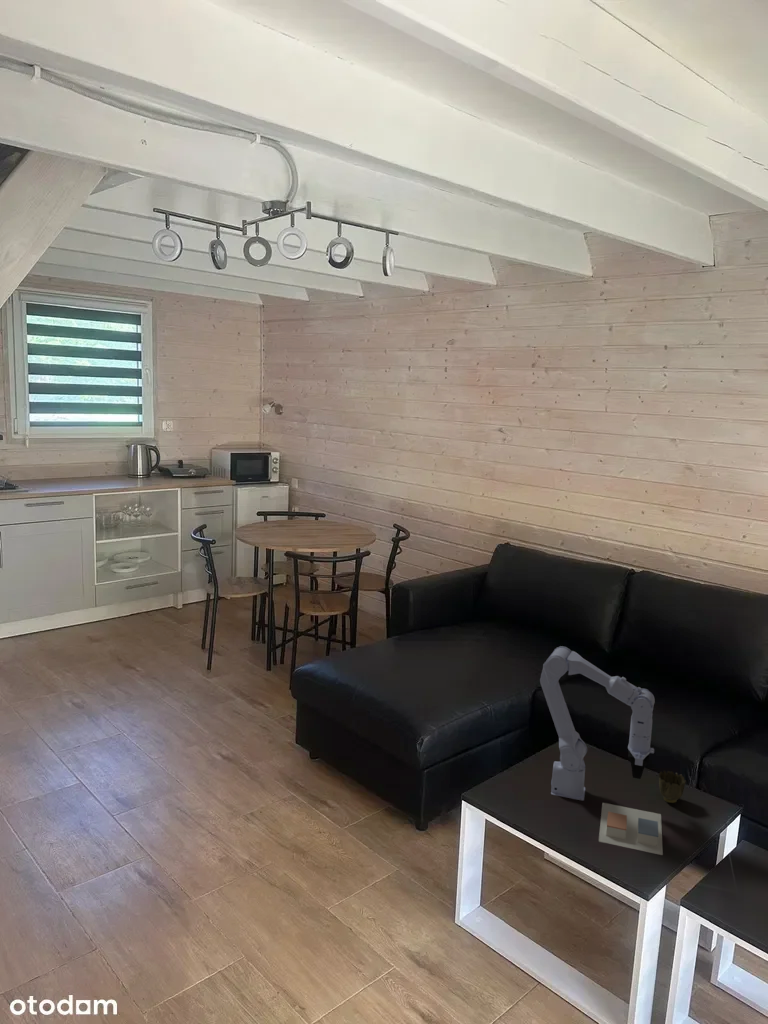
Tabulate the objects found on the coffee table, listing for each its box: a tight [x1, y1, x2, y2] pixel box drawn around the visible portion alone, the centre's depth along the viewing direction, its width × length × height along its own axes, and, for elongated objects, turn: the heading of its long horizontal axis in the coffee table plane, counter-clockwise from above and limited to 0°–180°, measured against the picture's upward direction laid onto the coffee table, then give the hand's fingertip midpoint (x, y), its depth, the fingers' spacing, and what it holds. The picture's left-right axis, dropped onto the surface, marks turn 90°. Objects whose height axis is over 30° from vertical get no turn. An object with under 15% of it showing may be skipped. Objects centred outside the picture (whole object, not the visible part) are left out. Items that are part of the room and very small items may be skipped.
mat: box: [598, 802, 664, 856], centre depth 199 cm, size 16×20×1 cm
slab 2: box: [637, 818, 658, 846], centre depth 195 cm, size 5×3×7 cm
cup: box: [658, 770, 687, 804], centre depth 213 cm, size 8×7×8 cm
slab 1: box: [606, 812, 627, 840], centre depth 197 cm, size 5×3×7 cm
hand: (636, 777), depth 208 cm, fingers closed
